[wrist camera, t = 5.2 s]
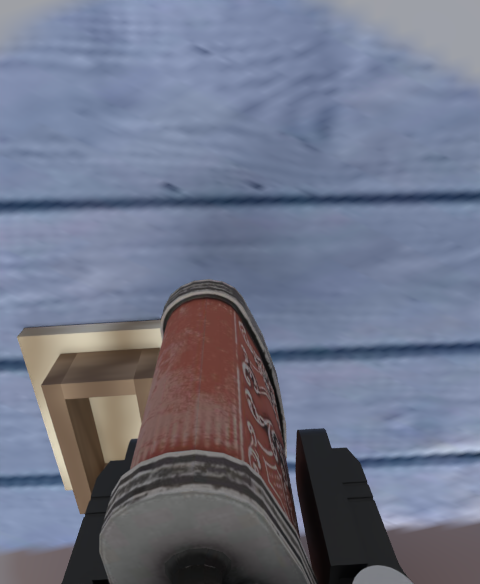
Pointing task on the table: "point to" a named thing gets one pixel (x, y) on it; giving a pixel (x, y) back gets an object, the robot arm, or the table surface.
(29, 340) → the wooden box with base
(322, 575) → the robot arm
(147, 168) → the table surface
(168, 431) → the lighter
